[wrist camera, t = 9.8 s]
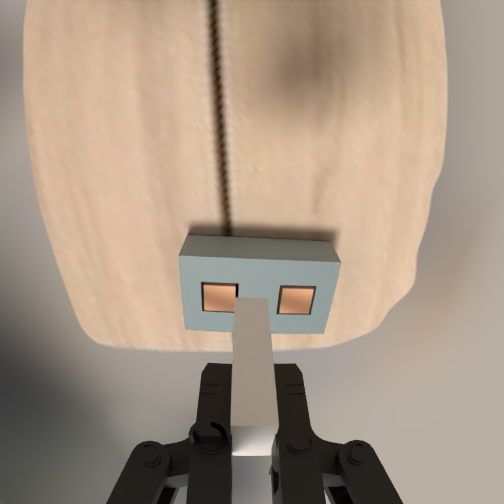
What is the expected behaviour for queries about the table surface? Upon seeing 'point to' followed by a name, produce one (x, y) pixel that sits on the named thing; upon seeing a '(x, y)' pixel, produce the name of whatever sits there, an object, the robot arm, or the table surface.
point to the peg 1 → (219, 296)
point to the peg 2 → (295, 299)
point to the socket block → (257, 279)
